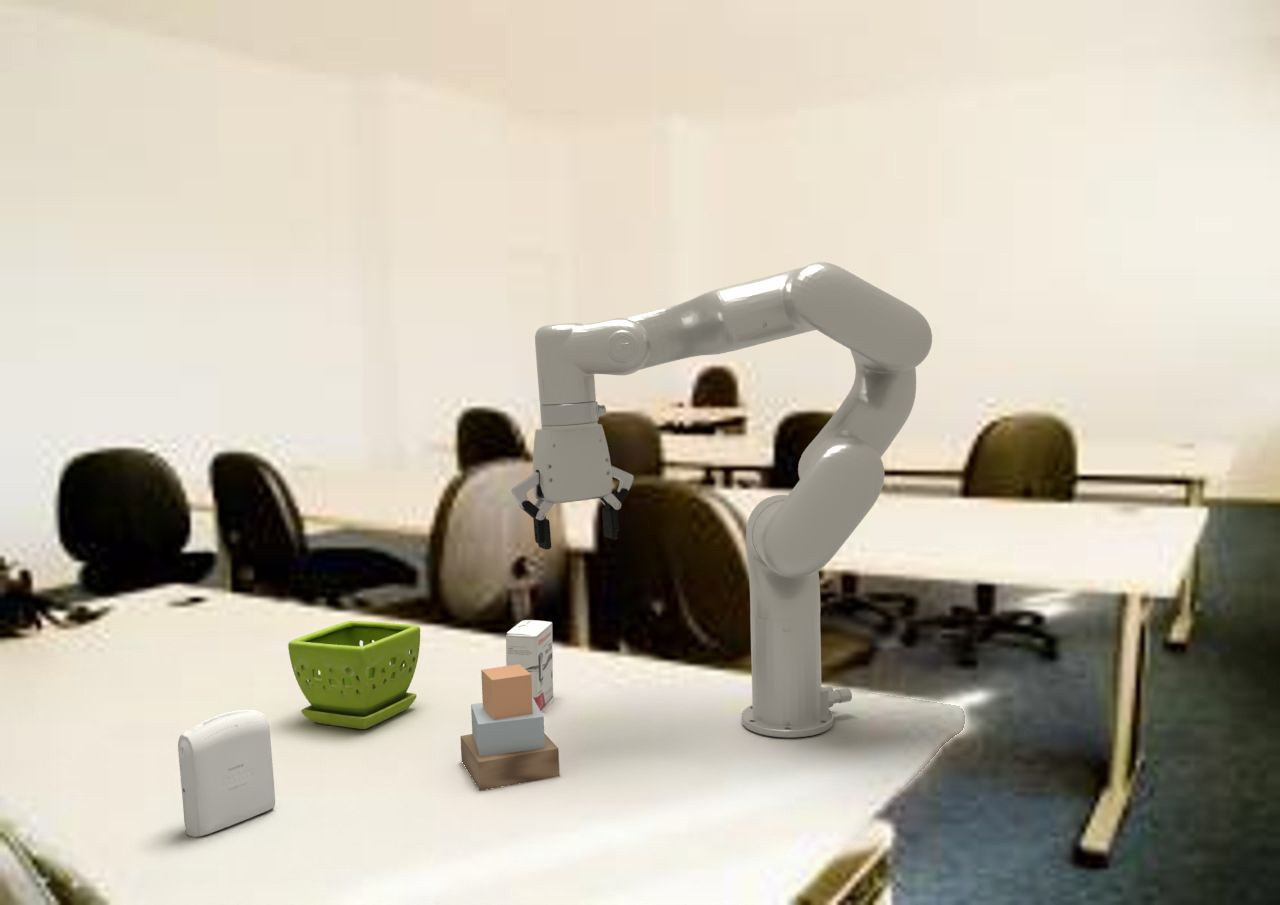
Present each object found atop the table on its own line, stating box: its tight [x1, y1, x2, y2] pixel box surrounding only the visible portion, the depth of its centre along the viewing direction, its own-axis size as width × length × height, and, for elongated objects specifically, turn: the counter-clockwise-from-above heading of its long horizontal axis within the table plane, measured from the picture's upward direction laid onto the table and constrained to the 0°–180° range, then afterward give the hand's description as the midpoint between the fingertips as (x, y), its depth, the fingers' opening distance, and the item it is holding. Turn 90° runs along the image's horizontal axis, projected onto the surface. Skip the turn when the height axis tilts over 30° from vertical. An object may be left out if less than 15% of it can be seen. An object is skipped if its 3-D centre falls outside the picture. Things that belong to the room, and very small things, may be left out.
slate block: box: [470, 697, 545, 756], centre depth 134 cm, size 8×8×4 cm
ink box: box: [505, 619, 554, 711], centre depth 158 cm, size 9×5×12 cm, turn 168°
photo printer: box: [177, 709, 276, 838], centre depth 121 cm, size 10×4×12 cm, turn 140°
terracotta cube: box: [480, 664, 533, 720], centre depth 133 cm, size 5×5×5 cm
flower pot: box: [287, 620, 421, 730], centre depth 155 cm, size 14×14×13 cm
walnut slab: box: [460, 732, 560, 792], centre depth 134 cm, size 10×10×4 cm
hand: (578, 542), depth 144 cm, fingers open, 9 cm apart
